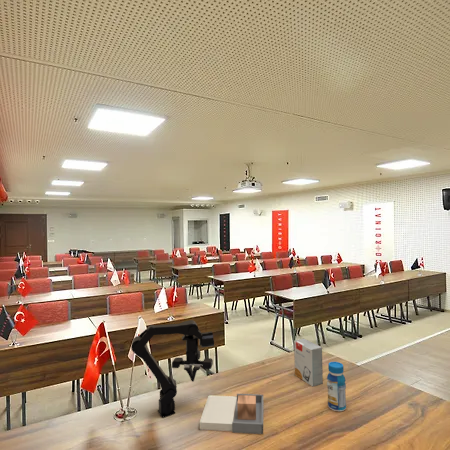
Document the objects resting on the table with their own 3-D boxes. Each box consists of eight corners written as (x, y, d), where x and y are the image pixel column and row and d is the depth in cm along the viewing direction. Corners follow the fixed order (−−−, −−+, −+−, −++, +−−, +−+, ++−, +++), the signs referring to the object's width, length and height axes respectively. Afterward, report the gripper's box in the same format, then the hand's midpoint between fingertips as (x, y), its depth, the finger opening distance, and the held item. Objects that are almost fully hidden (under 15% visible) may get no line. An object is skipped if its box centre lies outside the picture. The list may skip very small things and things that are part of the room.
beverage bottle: (348, 413, 146) (346, 368, 147) (328, 411, 148) (327, 367, 148) (344, 402, 155) (343, 361, 155) (326, 401, 156) (325, 360, 156)
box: (232, 432, 135) (232, 422, 135) (237, 401, 158) (237, 393, 158) (263, 434, 133) (263, 424, 133) (263, 402, 156) (263, 394, 156)
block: (237, 403, 143) (255, 404, 142) (238, 395, 150) (255, 395, 149) (237, 419, 143) (255, 419, 142) (238, 410, 150) (256, 410, 149)
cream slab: (199, 429, 137) (199, 422, 137) (208, 401, 159) (208, 395, 159) (232, 431, 135) (232, 424, 135) (237, 402, 157) (236, 396, 157)
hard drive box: (294, 375, 185) (293, 340, 185) (304, 372, 188) (304, 338, 188) (312, 387, 171) (311, 349, 171) (323, 383, 174) (322, 346, 174)
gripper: (214, 342, 160) (215, 374, 160) (177, 341, 162) (178, 372, 162) (210, 351, 149) (211, 385, 149) (171, 350, 151) (171, 383, 151)
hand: (192, 381), depth 153 cm, fingers closed
